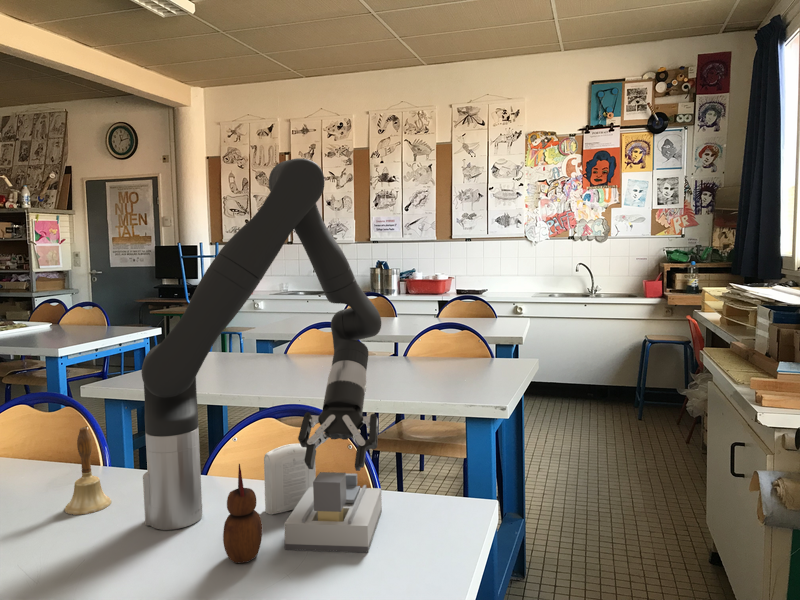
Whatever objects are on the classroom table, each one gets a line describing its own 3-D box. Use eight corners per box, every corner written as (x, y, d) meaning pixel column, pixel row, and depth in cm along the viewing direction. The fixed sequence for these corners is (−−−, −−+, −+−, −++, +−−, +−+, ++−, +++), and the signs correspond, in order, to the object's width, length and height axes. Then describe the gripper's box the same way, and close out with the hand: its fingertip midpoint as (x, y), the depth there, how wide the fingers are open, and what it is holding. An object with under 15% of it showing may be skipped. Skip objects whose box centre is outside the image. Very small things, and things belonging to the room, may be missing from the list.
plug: (314, 539, 101) (313, 481, 101) (321, 527, 106) (319, 472, 105) (341, 540, 101) (340, 482, 100) (347, 528, 105) (345, 472, 105)
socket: (285, 549, 100) (284, 520, 100) (310, 509, 116) (309, 483, 116) (368, 552, 99) (367, 522, 98) (381, 511, 114) (381, 485, 114)
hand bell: (114, 507, 119) (110, 428, 118) (67, 518, 114) (62, 436, 113) (107, 494, 126) (103, 419, 125) (62, 504, 121) (57, 426, 120)
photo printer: (310, 497, 122) (308, 437, 121) (319, 504, 118) (318, 442, 118) (262, 509, 116) (259, 447, 116) (270, 517, 113) (267, 453, 112)
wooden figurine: (232, 547, 101) (229, 460, 100) (266, 547, 101) (263, 460, 100) (219, 568, 95) (215, 475, 94) (255, 568, 94) (252, 474, 93)
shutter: (318, 502, 108) (318, 487, 107) (328, 486, 115) (327, 473, 115) (354, 502, 107) (353, 488, 107) (361, 487, 114) (360, 473, 114)
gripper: (305, 378, 114) (289, 457, 104) (379, 379, 113) (370, 459, 102) (313, 399, 120) (298, 476, 109) (384, 400, 118) (376, 478, 108)
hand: (333, 468), depth 106 cm, fingers open, 8 cm apart
